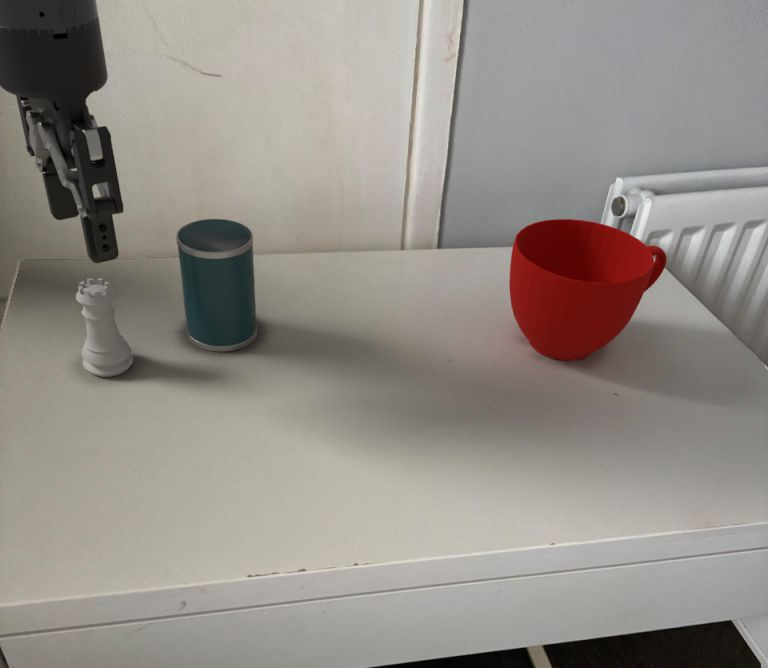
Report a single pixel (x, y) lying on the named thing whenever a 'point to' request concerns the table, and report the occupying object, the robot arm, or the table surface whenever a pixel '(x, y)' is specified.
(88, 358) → the rook chess piece
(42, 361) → the table surface
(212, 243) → the tin can
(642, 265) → the ceramic cup
